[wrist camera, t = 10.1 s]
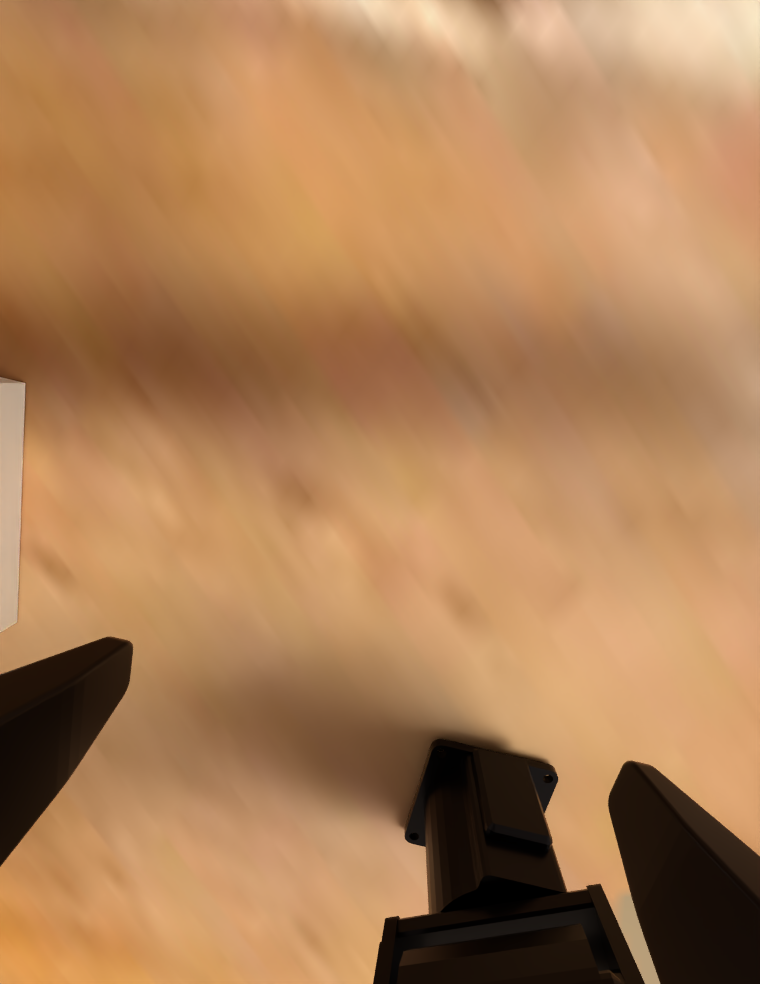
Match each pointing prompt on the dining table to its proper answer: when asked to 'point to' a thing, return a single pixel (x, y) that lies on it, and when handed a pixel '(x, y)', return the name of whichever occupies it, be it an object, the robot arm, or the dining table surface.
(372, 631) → the dining table surface
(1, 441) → the slab
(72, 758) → the robot arm
